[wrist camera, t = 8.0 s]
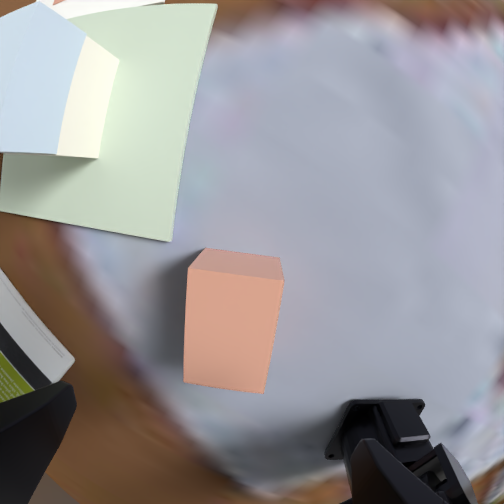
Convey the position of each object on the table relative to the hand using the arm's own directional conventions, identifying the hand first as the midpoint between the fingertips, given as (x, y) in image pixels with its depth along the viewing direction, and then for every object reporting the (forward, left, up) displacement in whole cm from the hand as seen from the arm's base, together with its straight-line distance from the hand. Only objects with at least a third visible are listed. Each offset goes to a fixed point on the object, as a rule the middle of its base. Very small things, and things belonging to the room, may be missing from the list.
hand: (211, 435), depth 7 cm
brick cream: (+10, +11, -9) cm, 18 cm away
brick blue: (+10, +11, -5) cm, 16 cm away
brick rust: (0, 0, -10) cm, 10 cm away
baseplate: (+10, +11, -10) cm, 18 cm away
